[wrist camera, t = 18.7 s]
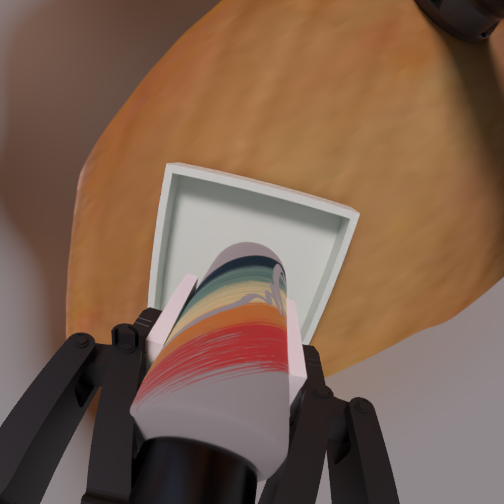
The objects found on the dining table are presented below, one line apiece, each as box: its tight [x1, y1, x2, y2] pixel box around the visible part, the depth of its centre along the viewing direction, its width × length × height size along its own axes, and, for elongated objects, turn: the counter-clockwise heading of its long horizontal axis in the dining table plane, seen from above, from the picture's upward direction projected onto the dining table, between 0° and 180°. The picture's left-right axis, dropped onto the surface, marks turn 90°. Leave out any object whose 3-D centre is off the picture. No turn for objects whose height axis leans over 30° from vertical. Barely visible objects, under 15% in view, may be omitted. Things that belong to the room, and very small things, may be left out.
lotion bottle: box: [129, 242, 289, 504], centre depth 12 cm, size 6×6×20 cm
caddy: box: [148, 162, 360, 345], centre depth 31 cm, size 20×20×5 cm
